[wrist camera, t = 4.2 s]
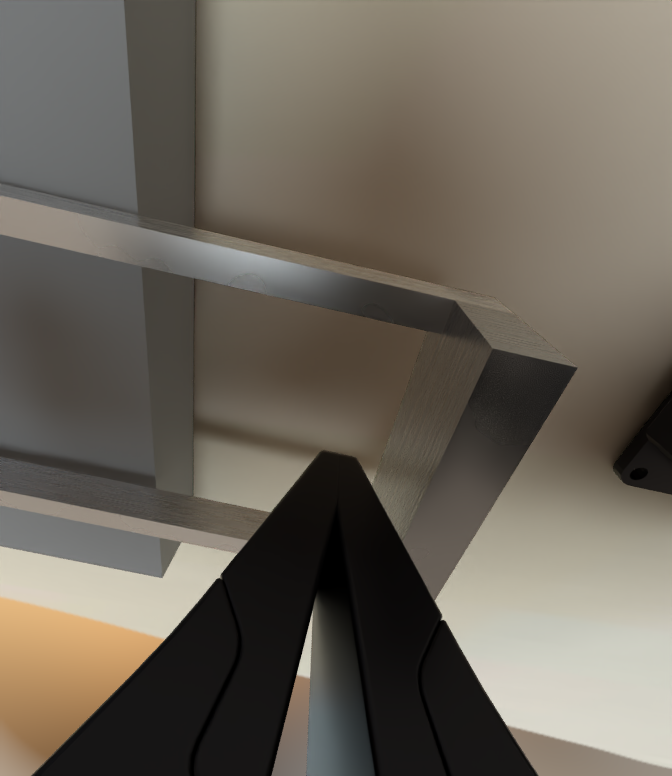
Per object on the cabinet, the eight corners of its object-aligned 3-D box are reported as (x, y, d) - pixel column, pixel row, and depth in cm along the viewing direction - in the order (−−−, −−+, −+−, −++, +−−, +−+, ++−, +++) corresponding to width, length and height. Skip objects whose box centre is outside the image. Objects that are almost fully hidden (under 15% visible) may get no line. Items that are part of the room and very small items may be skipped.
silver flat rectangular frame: (494, 297, 7) (577, 367, 4) (385, 550, 10) (390, 671, 8) (-498, 67, 6) (-1152, -24, 3) (-235, 423, 10) (-454, 508, 7)
